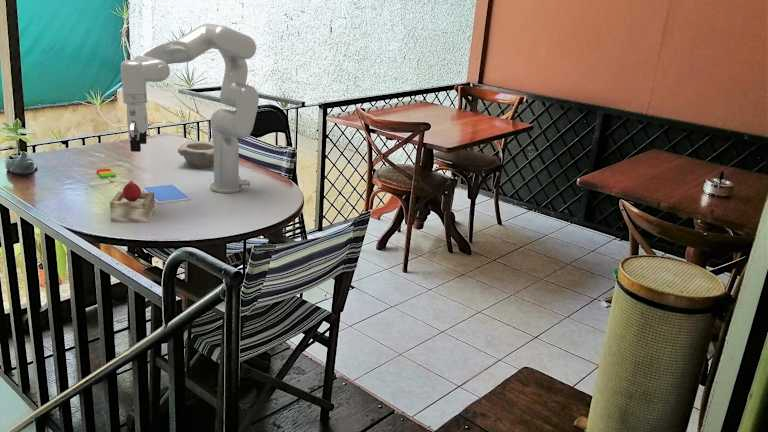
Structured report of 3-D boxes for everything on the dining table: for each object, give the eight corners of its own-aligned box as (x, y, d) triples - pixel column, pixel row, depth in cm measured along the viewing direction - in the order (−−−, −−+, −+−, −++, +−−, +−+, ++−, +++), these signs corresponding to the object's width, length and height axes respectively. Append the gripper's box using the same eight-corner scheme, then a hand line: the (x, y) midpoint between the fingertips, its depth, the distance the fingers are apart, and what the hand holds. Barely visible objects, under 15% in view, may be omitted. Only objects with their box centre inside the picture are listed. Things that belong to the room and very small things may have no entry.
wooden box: (155, 211, 244) (154, 192, 242) (147, 223, 233) (146, 203, 231) (120, 210, 243) (118, 191, 240) (111, 222, 232) (109, 202, 229)
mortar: (212, 173, 291) (212, 152, 288) (174, 168, 293) (173, 147, 290) (226, 163, 307) (226, 143, 304) (190, 158, 309) (189, 139, 305)
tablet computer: (141, 190, 265) (141, 187, 264) (173, 186, 272) (173, 183, 272) (158, 205, 250) (158, 202, 250) (191, 201, 257) (191, 197, 257)
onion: (134, 206, 233) (132, 184, 230) (120, 204, 235) (117, 182, 232) (145, 200, 238) (142, 179, 235) (131, 198, 240) (128, 176, 237)
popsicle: (110, 172, 283) (109, 168, 283) (119, 182, 272) (119, 178, 271) (96, 173, 280) (95, 169, 280) (105, 184, 269) (104, 179, 268)
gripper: (141, 103, 222) (145, 154, 228) (151, 93, 238) (154, 141, 244) (117, 103, 221) (121, 154, 227) (129, 92, 237) (133, 140, 243)
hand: (138, 147), depth 235 cm, fingers open, 9 cm apart
